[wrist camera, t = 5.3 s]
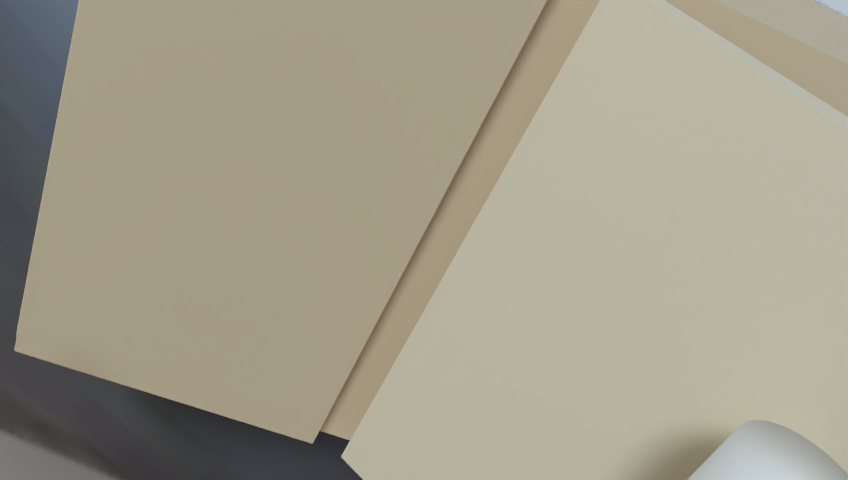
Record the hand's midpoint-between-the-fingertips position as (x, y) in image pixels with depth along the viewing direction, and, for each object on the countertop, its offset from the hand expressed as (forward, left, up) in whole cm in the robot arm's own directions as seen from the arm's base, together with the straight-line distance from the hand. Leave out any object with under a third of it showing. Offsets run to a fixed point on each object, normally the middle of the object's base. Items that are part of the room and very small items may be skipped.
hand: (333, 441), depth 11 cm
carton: (-2, 0, -11) cm, 11 cm away
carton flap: (-5, 0, -3) cm, 6 cm away
